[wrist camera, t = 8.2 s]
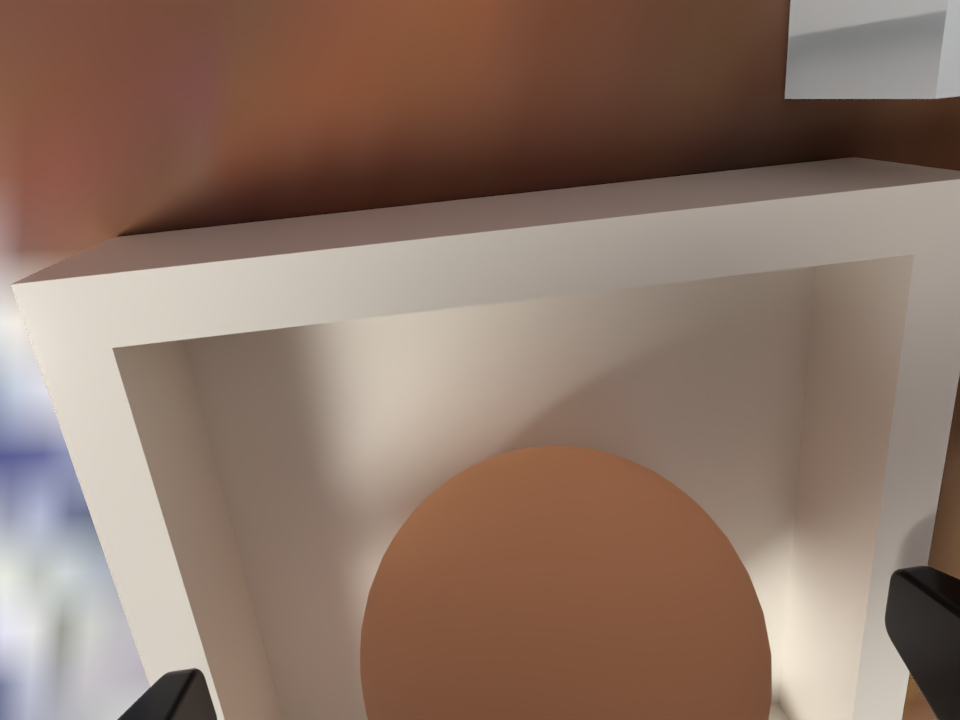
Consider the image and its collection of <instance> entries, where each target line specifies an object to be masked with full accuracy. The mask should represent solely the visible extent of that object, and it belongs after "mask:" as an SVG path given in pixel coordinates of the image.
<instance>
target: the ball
mask: <svg viewBox="0 0 960 720" xmlns="http://www.w3.org/2000/svg"><path fill="white" fill-rule="evenodd" d="M360 676H361V684H362V693H363V698H364V704H365V710H366V715H367V718H368V720H768V719H769V713H770V706H771V700H772V658H771V650H770V644H769V639H768V634H767V628H766V623H765V618H764V613H763V610H762V608H761V605H760V602H759V599H758V597H757V594H756V591H755V589H754V586H753V583H752V581H751V578H750V576H749V573H748V572H747V570H746V568H745V566H744V565H743V563H742V561H741V559H740V558H739V556H738V554H737V553H736V551H735V549H734V548H733V546H732V544H731V543H730V541H729V539H728V538H727V536H726V535H725V534H724V533H723V532H722V530H721V529H720V528H719V527H718V526H717V524H716V523H715V522H714V521H713V520H712V518H711V517H710V516H709V515H708V514H707V513H706V512H705V510H704V509H703V508H702V507H701V506H700V505H698V504H697V503H696V502H695V501H694V500H693V499H692V498H691V497H689V496H688V495H687V494H686V493H685V492H683V491H682V490H681V489H679V488H678V487H677V486H676V485H674V484H673V483H671V482H670V481H668V480H667V479H665V478H664V477H662V476H661V475H659V474H657V473H656V472H654V471H652V470H650V469H648V468H645V467H643V466H641V465H639V464H637V463H635V462H632V461H630V460H628V459H626V458H623V457H620V456H617V455H614V454H610V453H607V452H604V451H599V450H593V449H587V448H582V447H570V446H541V447H530V448H525V449H519V450H514V451H510V452H506V453H503V454H500V455H497V456H494V457H490V458H488V459H486V460H484V461H481V462H479V463H477V464H475V465H472V466H470V467H469V468H467V469H465V470H464V471H462V472H460V473H459V474H457V475H455V476H454V477H452V478H451V479H449V480H448V481H447V482H445V483H444V484H443V485H441V486H440V487H439V488H438V489H436V490H435V491H434V492H432V493H431V494H430V495H429V496H428V497H427V498H426V499H425V500H424V501H423V502H422V503H421V504H420V505H419V506H418V507H417V508H416V509H415V510H414V511H413V512H412V513H411V515H410V516H409V517H408V519H407V520H406V521H405V523H404V524H403V525H402V527H401V528H400V529H399V531H398V532H397V534H396V535H395V536H394V538H393V540H392V541H391V543H390V545H389V547H388V548H387V550H386V552H385V554H384V556H383V558H382V560H381V563H380V565H379V568H378V570H377V573H376V575H375V578H374V580H373V583H372V586H371V588H370V591H369V595H368V599H367V604H366V608H365V613H364V618H363V624H362V629H361V644H360Z"/></svg>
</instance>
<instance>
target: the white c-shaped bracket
mask: <svg viewBox="0 0 960 720" xmlns="http://www.w3.org/2000/svg"><path fill="white" fill-rule="evenodd" d="M958 96H960V0H791V1H790V18H789V34H788V51H787V67H786V84H785V99H939V98H949V97H958Z"/></svg>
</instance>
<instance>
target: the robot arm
mask: <svg viewBox="0 0 960 720" xmlns="http://www.w3.org/2000/svg"><path fill="white" fill-rule="evenodd" d="M885 627H886V630H887V633H888V636H889V638H890V640H891V641H892V643H893V645H894V647H895V648H896V650H897V652H898V653H899V655H900V657H901V658H902V660H903V662H904V663H905V665H906V667H907V668H908V670H909V672H910V674H911V675H912V677H913V679H914V680H915V682H916V684H917V685H918V687H919V689H920V690H921V692H922V694H923V695H924V697H925V699H926V701H927V702H928V704H929V706H930V707H931V709H932V711H933V712H934V714H935V716H936V717H937V719H938V720H960V580H959V579H957V578H954V577H952V576H950V575H948V574H945V573H943V572H941V571H938V570H936V569H934V568H931V567H928V566H916V567H908V568H901V569H898V570H895V571H894V572H893V574H892V575H891V578H890V583H889V590H888V597H887V604H886V611H885ZM118 720H217V715H216V712H215V709H214V705H213V702H212V699H211V696H210V692H209V689H208V686H207V683H206V679H205V677H204V674H203V673H202V671H201V670H199V669H197V668H191V669H184V670H177V671H171V672H168V673H166V674H164V675H163V676H162V677H160V678H159V679H158V680H157V681H156V682H155V683H154V684H153V685H152V686H151V687H150V688H149V689H148V690H147V691H146V692H145V693H144V694H143V695H142V696H141V697H140V698H139V699H138V700H137V701H136V702H135V703H134V704H133V705H132V706H131V707H130V708H129V709H128V710H127V711H126V712H125V713H124V714H123V715H122V716H121V717H120V718H119V719H118Z"/></svg>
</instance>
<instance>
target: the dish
mask: <svg viewBox="0 0 960 720" xmlns="http://www.w3.org/2000/svg"><path fill="white" fill-rule="evenodd" d="M11 287H12V290H13V293H14V295H15V298H16V301H17V304H18V307H19V310H20V313H21V316H22V318H23V321H24V324H25V327H26V330H27V333H28V336H29V339H30V341H31V344H32V347H33V350H34V353H35V356H36V359H37V362H38V365H39V367H40V370H41V373H42V376H43V379H44V382H45V385H46V388H47V390H48V393H49V396H50V399H51V402H52V405H53V408H54V411H55V414H56V416H57V419H58V422H59V425H60V428H61V431H62V434H63V437H64V439H65V442H66V445H67V448H68V451H69V454H70V457H71V460H72V462H73V465H74V468H75V471H76V474H77V477H78V480H79V483H80V486H81V488H82V491H83V494H84V497H85V500H86V503H87V506H88V509H89V511H90V514H91V517H92V520H93V523H94V526H95V529H96V532H97V535H98V537H99V540H100V543H101V546H102V549H103V552H104V555H105V558H106V560H107V563H108V566H109V569H110V572H111V575H112V578H113V581H114V583H115V586H116V589H117V592H118V595H119V598H120V601H121V604H122V607H123V609H124V612H125V615H126V618H127V621H128V624H129V627H130V630H131V632H132V635H133V638H134V641H135V644H136V647H137V650H138V653H139V656H140V658H141V661H142V664H143V667H144V670H145V673H146V676H147V679H148V681H149V684H150V687H151V686H152V685H153V684H154V683H155V682H156V681H157V680H158V679H159V678H160V677H162V676H163V675H164V674H166V673H168V672H171V671H177V670H184V669H191V668H197V669H199V670H201V671H202V673H203V674H204V677H205V679H206V683H207V686H208V689H209V692H210V696H211V699H212V702H213V705H214V709H215V712H216V715H217V720H368V718H367V715H366V710H365V704H364V698H363V693H362V684H361V676H360V644H361V629H362V624H363V618H364V613H365V608H366V604H367V599H368V595H369V591H370V588H371V586H372V583H373V580H374V578H375V575H376V573H377V570H378V568H379V565H380V563H381V560H382V558H383V556H384V554H385V552H386V550H387V548H388V547H389V545H390V543H391V541H392V540H393V538H394V536H395V535H396V534H397V532H398V531H399V529H400V528H401V527H402V525H403V524H404V523H405V521H406V520H407V519H408V517H409V516H410V515H411V513H412V512H413V511H414V510H415V509H416V508H417V507H418V506H419V505H420V504H421V503H422V502H423V501H424V500H425V499H426V498H427V497H428V496H429V495H430V494H431V493H432V492H434V491H435V490H436V489H438V488H439V487H440V486H441V485H443V484H444V483H445V482H447V481H448V480H449V479H451V478H452V477H454V476H455V475H457V474H459V473H460V472H462V471H464V470H465V469H467V468H469V467H470V466H472V465H475V464H477V463H479V462H481V461H484V460H486V459H488V458H490V457H494V456H497V455H500V454H503V453H506V452H510V451H514V450H519V449H525V448H530V447H541V446H570V447H582V448H587V449H593V450H599V451H604V452H607V453H610V454H614V455H617V456H620V457H623V458H626V459H628V460H630V461H632V462H635V463H637V464H639V465H641V466H643V467H645V468H648V469H650V470H652V471H654V472H656V473H657V474H659V475H661V476H662V477H664V478H665V479H667V480H668V481H670V482H671V483H673V484H674V485H676V486H677V487H678V488H679V489H681V490H682V491H683V492H685V493H686V494H687V495H688V496H689V497H691V498H692V499H693V500H694V501H695V502H696V503H697V504H698V505H700V506H701V507H702V508H703V509H704V510H705V512H706V513H707V514H708V515H709V516H710V517H711V518H712V520H713V521H714V522H715V523H716V524H717V526H718V527H719V528H720V529H721V530H722V532H723V533H724V534H725V535H726V536H727V538H728V539H729V541H730V543H731V544H732V546H733V548H734V549H735V551H736V553H737V554H738V556H739V558H740V559H741V561H742V563H743V565H744V566H745V568H746V570H747V572H748V573H749V576H750V578H751V581H752V583H753V586H754V589H755V591H756V594H757V597H758V599H759V602H760V605H761V608H762V610H763V613H764V618H765V623H766V628H767V634H768V639H769V644H770V650H771V658H772V700H771V706H770V713H769V719H768V720H902V714H903V708H904V702H905V696H906V690H907V684H908V678H909V670H908V668H907V667H906V665H905V663H904V662H903V660H902V658H901V657H900V655H899V653H898V652H897V650H896V648H895V647H894V645H893V643H892V641H891V640H890V638H889V636H888V633H887V630H886V627H885V611H886V604H887V597H888V590H889V583H890V578H891V575H892V574H893V572H894V571H895V570H898V569H901V568H908V567H916V566H927V565H928V559H929V553H930V547H931V541H932V536H933V530H934V524H935V518H936V512H937V506H938V500H939V494H940V488H941V482H942V476H943V470H944V464H945V458H946V452H947V446H948V440H949V434H950V428H951V422H952V416H953V411H954V405H955V399H956V393H957V387H958V381H959V375H960V171H956V170H948V169H941V168H933V167H925V166H918V165H910V164H903V163H895V162H887V161H880V160H872V159H865V158H857V157H850V158H840V159H831V160H822V161H813V162H803V163H794V164H785V165H776V166H767V167H757V168H748V169H739V170H730V171H720V172H711V173H702V174H693V175H684V176H674V177H665V178H656V179H647V180H637V181H628V182H619V183H610V184H601V185H591V186H582V187H573V188H564V189H554V190H545V191H536V192H527V193H518V194H508V195H499V196H490V197H481V198H471V199H462V200H453V201H444V202H435V203H425V204H416V205H407V206H398V207H388V208H379V209H370V210H361V211H352V212H342V213H333V214H324V215H315V216H305V217H296V218H287V219H278V220H269V221H259V222H250V223H241V224H232V225H222V226H213V227H204V228H195V229H185V230H176V231H167V232H158V233H149V234H139V235H130V236H121V237H112V238H110V239H108V240H106V241H104V242H101V243H99V244H97V245H95V246H93V247H91V248H89V249H86V250H84V251H82V252H80V253H78V254H76V255H73V256H71V257H69V258H67V259H65V260H63V261H60V262H58V263H56V264H54V265H52V266H50V267H47V268H45V269H43V270H41V271H39V272H37V273H34V274H32V275H30V276H28V277H26V278H24V279H22V280H19V281H17V282H15V283H13V284H11Z"/></svg>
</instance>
